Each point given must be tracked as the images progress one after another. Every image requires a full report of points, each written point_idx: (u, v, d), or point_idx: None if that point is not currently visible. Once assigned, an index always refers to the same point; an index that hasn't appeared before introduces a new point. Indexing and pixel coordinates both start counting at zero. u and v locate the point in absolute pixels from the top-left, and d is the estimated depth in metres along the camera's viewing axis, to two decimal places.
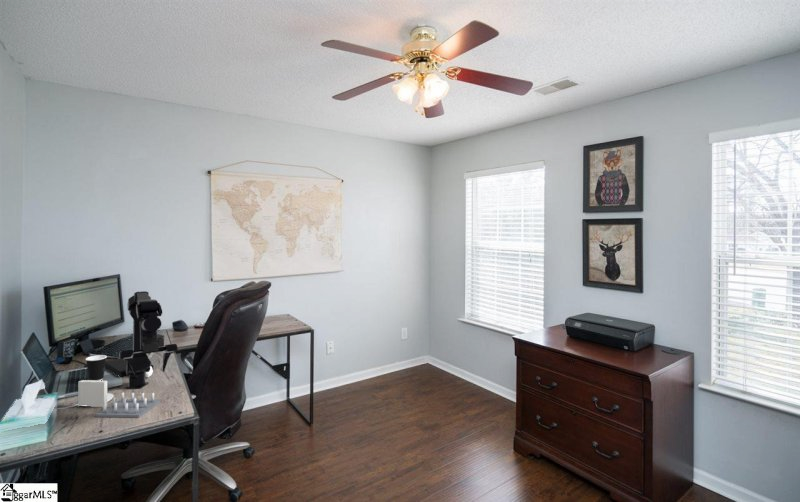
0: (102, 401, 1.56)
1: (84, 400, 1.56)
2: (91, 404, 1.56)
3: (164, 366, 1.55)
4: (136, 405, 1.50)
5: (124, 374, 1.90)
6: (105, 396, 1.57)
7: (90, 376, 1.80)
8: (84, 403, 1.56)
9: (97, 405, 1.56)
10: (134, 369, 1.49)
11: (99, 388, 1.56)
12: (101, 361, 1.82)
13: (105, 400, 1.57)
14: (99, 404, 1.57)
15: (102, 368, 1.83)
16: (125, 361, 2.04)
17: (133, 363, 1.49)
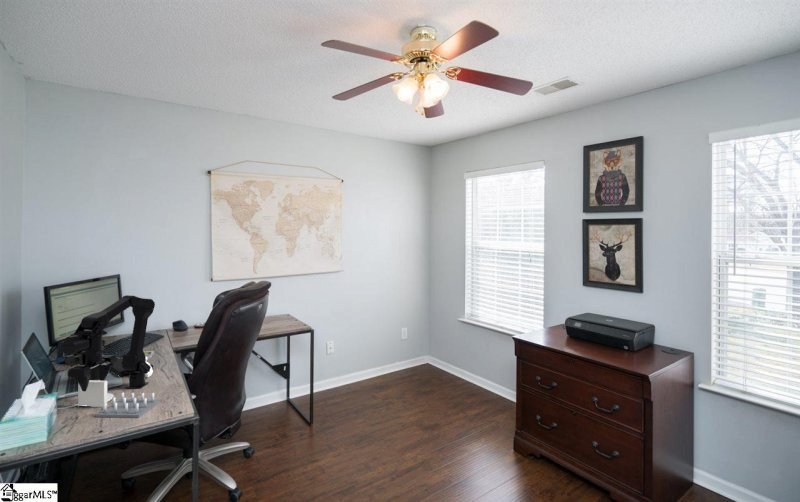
0: (102, 401, 1.56)
1: (84, 400, 1.56)
2: (91, 404, 1.56)
3: None
4: (136, 405, 1.50)
5: (124, 374, 1.90)
6: (105, 396, 1.57)
7: None
8: (84, 403, 1.56)
9: (97, 405, 1.56)
10: None
11: (99, 388, 1.56)
12: None
13: (105, 400, 1.57)
14: (99, 404, 1.57)
15: None
16: None
17: None
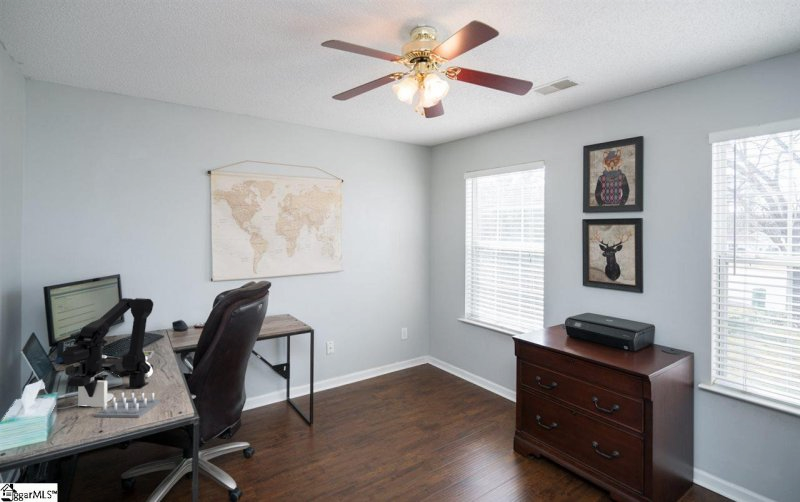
0: (102, 401, 1.56)
1: (84, 400, 1.56)
2: (91, 404, 1.56)
3: None
4: (136, 405, 1.50)
5: (124, 374, 1.90)
6: (105, 396, 1.57)
7: None
8: (84, 403, 1.56)
9: (97, 405, 1.56)
10: None
11: (99, 388, 1.56)
12: None
13: (105, 400, 1.57)
14: (99, 404, 1.57)
15: None
16: None
17: None
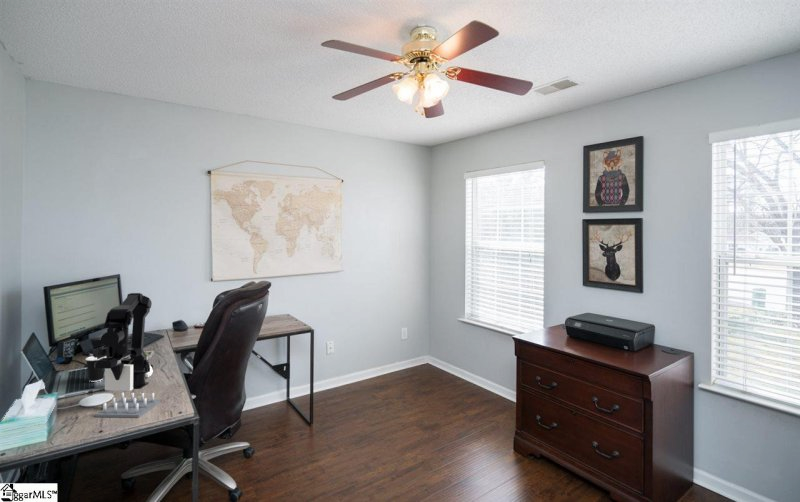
0: (128, 385, 1.56)
1: (110, 384, 1.56)
2: (117, 388, 1.56)
3: None
4: (136, 405, 1.50)
5: None
6: (131, 380, 1.57)
7: (90, 376, 1.80)
8: (110, 387, 1.56)
9: (123, 389, 1.56)
10: None
11: (125, 372, 1.56)
12: None
13: (131, 384, 1.57)
14: (125, 388, 1.56)
15: (102, 368, 1.83)
16: None
17: None
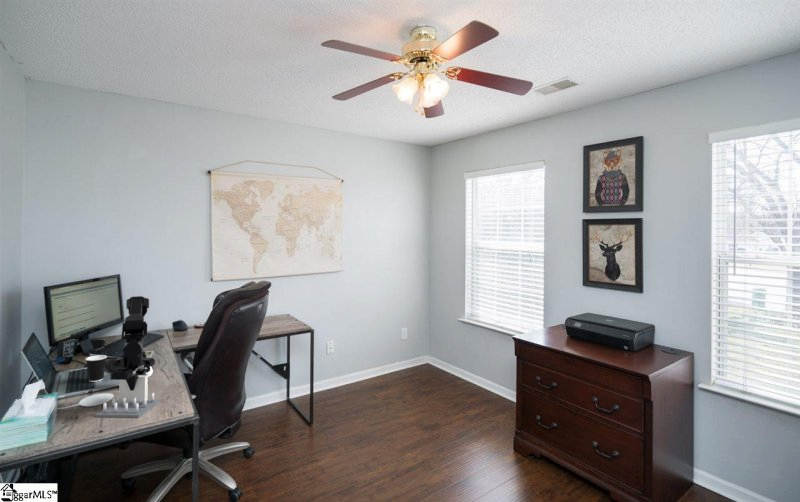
0: (143, 396, 1.57)
1: (125, 395, 1.57)
2: (132, 399, 1.57)
3: None
4: (136, 405, 1.50)
5: None
6: (146, 391, 1.58)
7: (90, 376, 1.80)
8: None
9: (138, 400, 1.57)
10: None
11: (140, 383, 1.57)
12: (101, 361, 1.82)
13: (146, 395, 1.58)
14: (140, 399, 1.57)
15: (102, 368, 1.83)
16: None
17: None
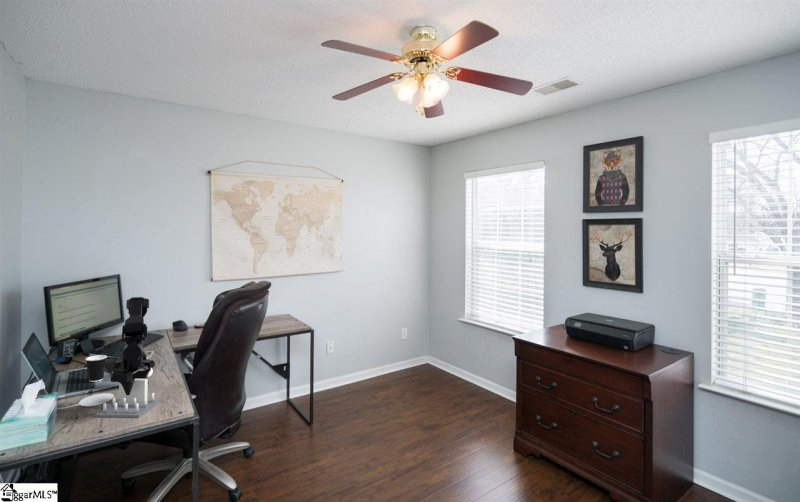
0: (143, 399, 1.57)
1: None
2: (132, 402, 1.57)
3: None
4: (136, 405, 1.50)
5: None
6: (145, 394, 1.58)
7: (90, 376, 1.80)
8: None
9: None
10: None
11: (140, 386, 1.57)
12: (101, 361, 1.82)
13: None
14: (140, 402, 1.57)
15: (102, 368, 1.83)
16: None
17: None
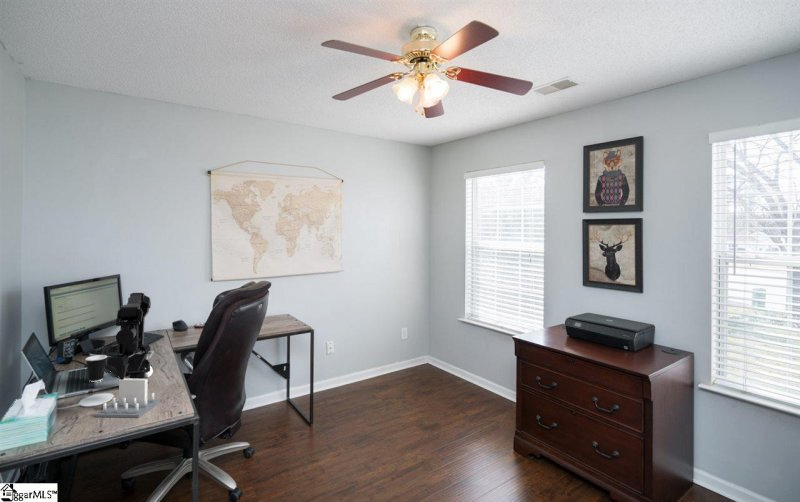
0: (143, 399, 1.57)
1: None
2: (132, 402, 1.57)
3: None
4: (136, 405, 1.50)
5: None
6: (145, 394, 1.58)
7: (90, 376, 1.80)
8: None
9: None
10: None
11: (140, 386, 1.57)
12: (101, 361, 1.82)
13: None
14: (140, 402, 1.57)
15: (102, 368, 1.83)
16: None
17: None
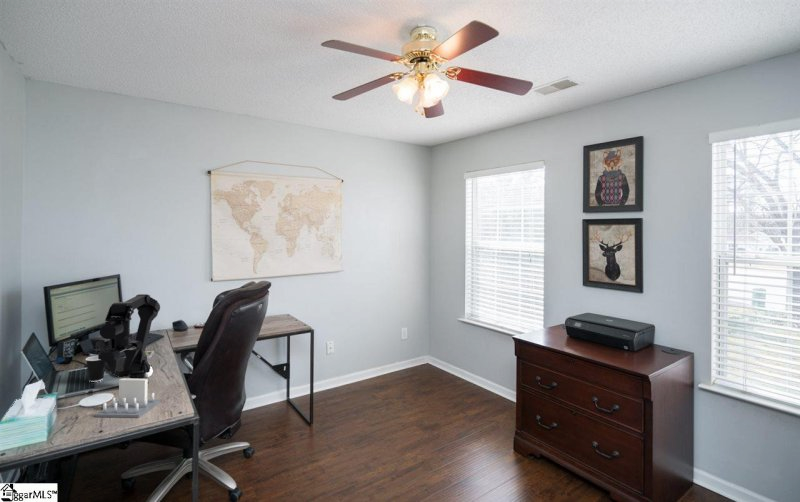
0: (143, 399, 1.57)
1: None
2: (132, 402, 1.57)
3: None
4: (136, 405, 1.50)
5: (122, 374, 1.90)
6: (145, 394, 1.58)
7: (90, 376, 1.80)
8: None
9: None
10: None
11: (140, 386, 1.57)
12: (101, 361, 1.82)
13: None
14: (140, 402, 1.57)
15: (102, 368, 1.83)
16: None
17: None
